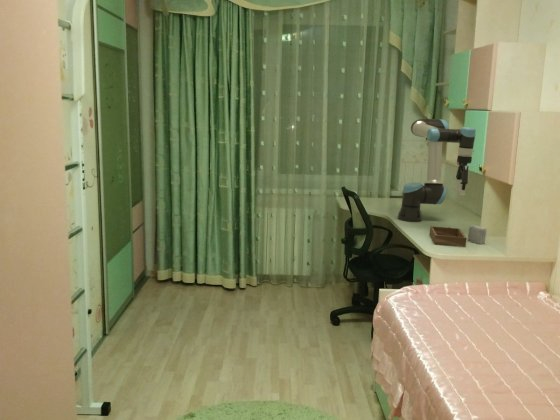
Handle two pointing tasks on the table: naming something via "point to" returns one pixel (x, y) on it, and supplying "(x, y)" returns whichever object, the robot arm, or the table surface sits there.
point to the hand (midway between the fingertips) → (459, 193)
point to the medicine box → (477, 234)
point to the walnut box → (447, 236)
